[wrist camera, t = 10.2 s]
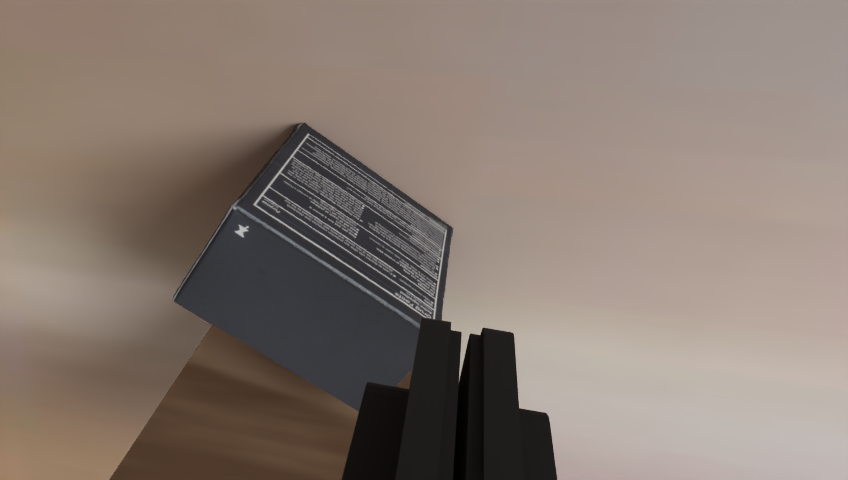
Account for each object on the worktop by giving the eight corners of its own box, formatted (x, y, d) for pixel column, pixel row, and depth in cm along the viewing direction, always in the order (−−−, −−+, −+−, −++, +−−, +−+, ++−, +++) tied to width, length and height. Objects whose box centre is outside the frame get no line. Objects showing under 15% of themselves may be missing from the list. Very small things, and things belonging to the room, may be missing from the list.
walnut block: (415, 365, 41) (375, 608, 26) (234, 328, 40) (97, 551, 26) (423, 328, 39) (386, 564, 25) (235, 290, 39) (92, 505, 25)
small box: (245, 203, 36) (161, 304, 27) (301, 117, 33) (229, 196, 24) (393, 301, 38) (363, 425, 29) (457, 227, 36) (447, 339, 26)
